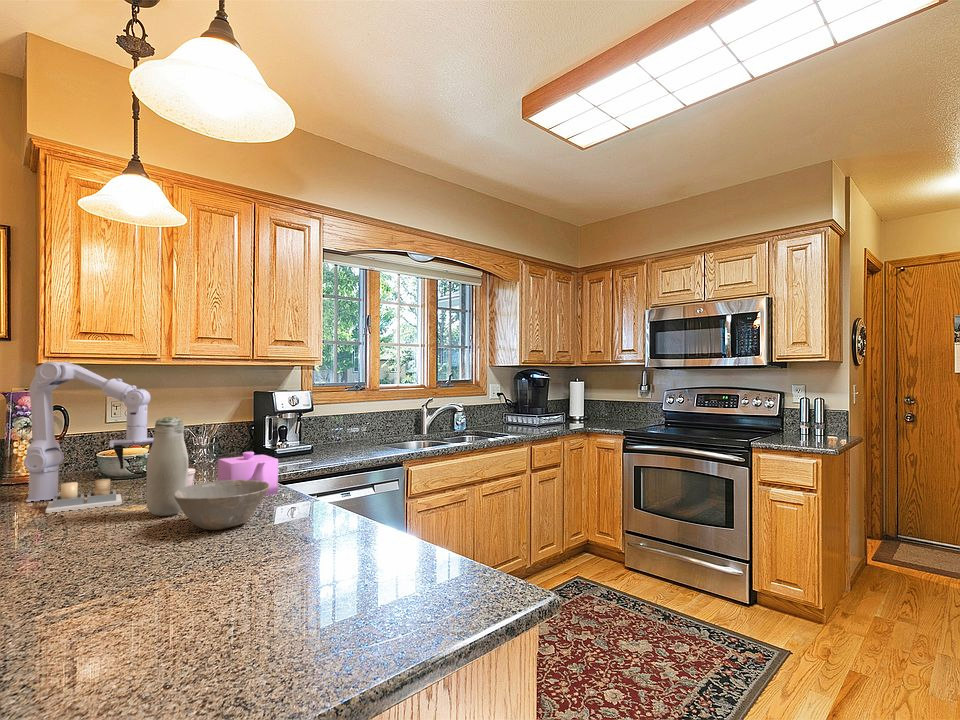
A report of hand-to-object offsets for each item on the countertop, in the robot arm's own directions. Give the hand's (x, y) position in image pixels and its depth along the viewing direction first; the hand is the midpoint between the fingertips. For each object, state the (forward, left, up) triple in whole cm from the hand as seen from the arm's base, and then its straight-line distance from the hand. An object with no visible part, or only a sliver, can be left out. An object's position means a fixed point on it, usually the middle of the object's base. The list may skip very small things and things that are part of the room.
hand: (135, 467), depth 171 cm
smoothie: (+16, +12, -10) cm, 22 cm away
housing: (+5, -13, -9) cm, 17 cm away
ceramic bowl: (+52, +17, -10) cm, 56 cm away
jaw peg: (+5, -9, -8) cm, 13 cm away
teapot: (+18, +31, -10) cm, 37 cm away
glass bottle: (+32, +6, -10) cm, 34 cm away
